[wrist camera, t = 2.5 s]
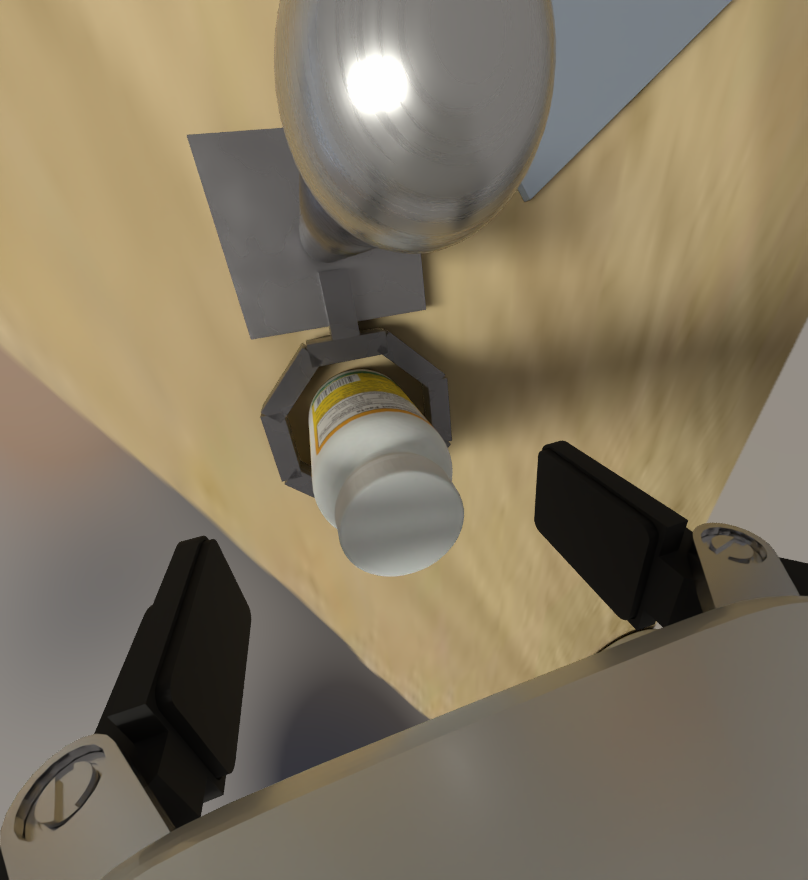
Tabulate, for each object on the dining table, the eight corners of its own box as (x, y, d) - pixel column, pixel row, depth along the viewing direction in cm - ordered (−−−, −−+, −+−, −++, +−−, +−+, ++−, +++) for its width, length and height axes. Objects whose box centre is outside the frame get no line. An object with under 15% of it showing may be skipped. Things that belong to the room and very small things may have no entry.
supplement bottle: (320, 355, 18) (339, 431, 9) (419, 380, 19) (511, 462, 11) (298, 453, 19) (298, 591, 11) (391, 467, 21) (452, 595, 13)
